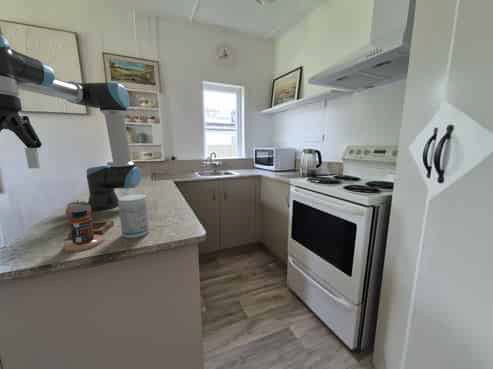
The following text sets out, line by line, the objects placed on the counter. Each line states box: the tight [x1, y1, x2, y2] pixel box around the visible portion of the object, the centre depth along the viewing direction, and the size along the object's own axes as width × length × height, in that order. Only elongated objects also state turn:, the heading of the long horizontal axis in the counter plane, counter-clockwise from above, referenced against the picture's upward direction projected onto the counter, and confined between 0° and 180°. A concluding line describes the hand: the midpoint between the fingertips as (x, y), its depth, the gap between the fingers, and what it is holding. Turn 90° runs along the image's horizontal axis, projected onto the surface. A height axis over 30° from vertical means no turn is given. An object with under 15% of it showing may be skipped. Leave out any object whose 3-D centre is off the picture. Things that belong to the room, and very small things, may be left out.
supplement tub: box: [117, 194, 150, 239], centre depth 80 cm, size 10×10×15 cm
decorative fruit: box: [65, 199, 92, 219], centre depth 95 cm, size 9×8×10 cm
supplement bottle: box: [68, 209, 94, 245], centre depth 71 cm, size 6×6×11 cm
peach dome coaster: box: [63, 235, 105, 253], centre depth 73 cm, size 11×11×1 cm
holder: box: [67, 220, 115, 239], centre depth 84 cm, size 11×11×2 cm
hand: (16, 170), depth 62 cm, fingers open, 13 cm apart
